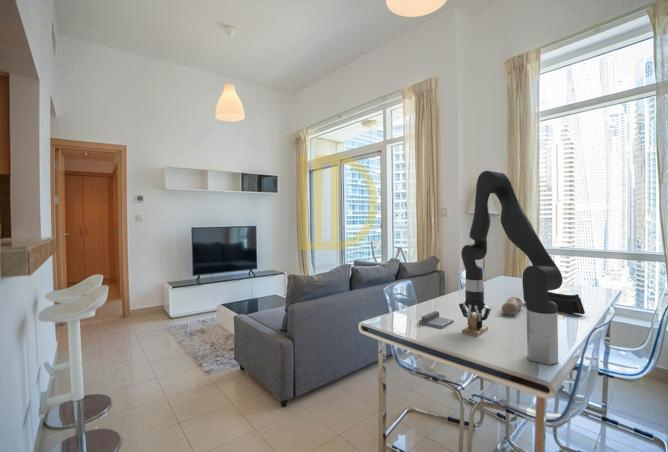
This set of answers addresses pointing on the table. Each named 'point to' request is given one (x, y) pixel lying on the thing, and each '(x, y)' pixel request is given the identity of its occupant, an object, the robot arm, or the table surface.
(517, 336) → the table surface
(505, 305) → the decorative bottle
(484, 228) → the robot arm
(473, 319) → the stub
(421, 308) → the table surface
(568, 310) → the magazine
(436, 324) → the board
